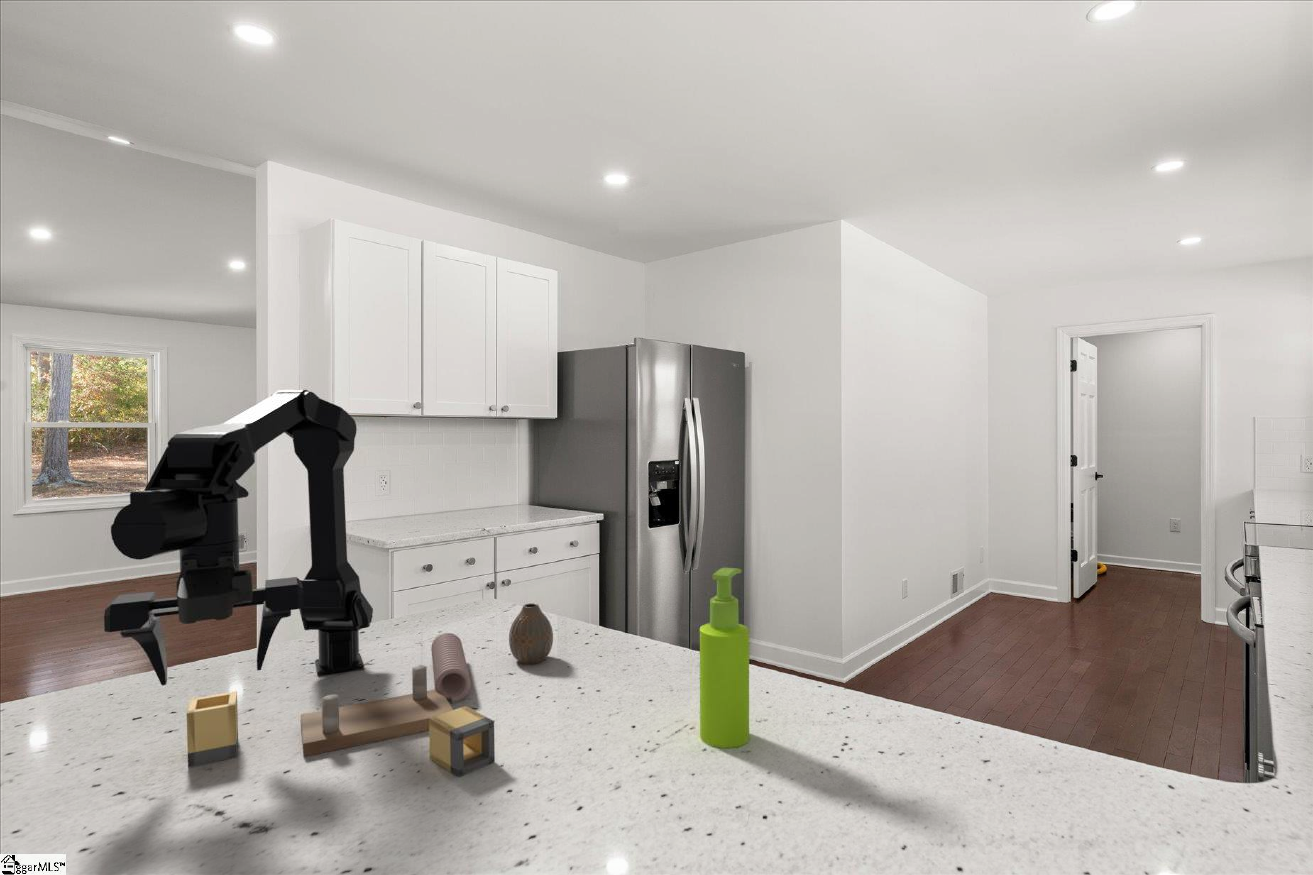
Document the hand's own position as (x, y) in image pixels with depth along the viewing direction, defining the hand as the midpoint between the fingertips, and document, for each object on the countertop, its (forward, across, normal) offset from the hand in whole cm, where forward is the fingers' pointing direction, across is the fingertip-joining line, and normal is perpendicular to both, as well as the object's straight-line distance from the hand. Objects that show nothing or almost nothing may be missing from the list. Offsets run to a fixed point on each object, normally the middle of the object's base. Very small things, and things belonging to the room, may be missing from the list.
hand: (213, 676), depth 80 cm
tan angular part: (+7, +26, -19) cm, 32 cm away
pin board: (+9, +17, -2) cm, 20 cm away
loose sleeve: (+9, 0, 0) cm, 9 cm away
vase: (+9, +42, +12) cm, 45 cm away
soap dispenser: (+9, +54, -25) cm, 60 cm away
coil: (+9, +29, +10) cm, 32 cm away
